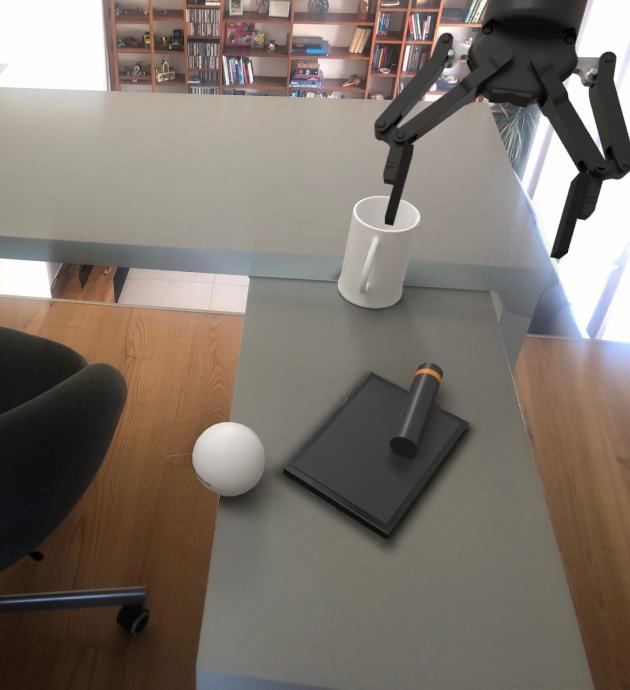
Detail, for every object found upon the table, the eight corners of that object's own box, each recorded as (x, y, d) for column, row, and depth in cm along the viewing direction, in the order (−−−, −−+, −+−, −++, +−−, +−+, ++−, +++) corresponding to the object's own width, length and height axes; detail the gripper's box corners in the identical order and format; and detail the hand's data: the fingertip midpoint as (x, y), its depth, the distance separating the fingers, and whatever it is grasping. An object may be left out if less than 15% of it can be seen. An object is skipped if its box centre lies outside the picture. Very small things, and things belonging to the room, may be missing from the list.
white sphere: (267, 457, 74) (272, 412, 68) (258, 516, 68) (263, 472, 63) (175, 442, 75) (173, 397, 70) (159, 499, 70) (157, 455, 65)
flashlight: (389, 453, 73) (417, 379, 80) (417, 459, 71) (443, 383, 79) (388, 433, 71) (417, 360, 79) (417, 440, 70) (444, 364, 77)
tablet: (467, 428, 76) (469, 422, 75) (386, 540, 66) (388, 534, 65) (369, 377, 82) (371, 370, 81) (282, 473, 72) (283, 467, 71)
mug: (381, 332, 87) (401, 254, 79) (318, 309, 91) (330, 233, 82) (410, 281, 94) (431, 205, 86) (350, 262, 98) (365, 187, 89)
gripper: (690, 32, 58) (621, 278, 58) (388, 1, 65) (328, 218, 66) (733, -19, 51) (654, 262, 51) (388, -47, 58) (321, 197, 58)
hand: (470, 238), depth 58 cm, fingers open, 13 cm apart
